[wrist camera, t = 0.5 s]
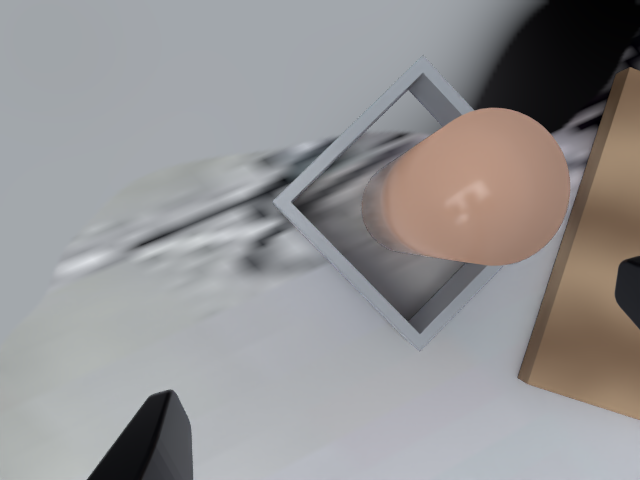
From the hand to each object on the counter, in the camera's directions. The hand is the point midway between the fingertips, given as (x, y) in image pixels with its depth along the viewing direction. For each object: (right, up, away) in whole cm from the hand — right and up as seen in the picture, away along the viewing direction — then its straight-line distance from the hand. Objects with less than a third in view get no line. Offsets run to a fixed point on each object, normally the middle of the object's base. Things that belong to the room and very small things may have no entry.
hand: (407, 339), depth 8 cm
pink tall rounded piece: (+3, +4, +15) cm, 16 cm away
